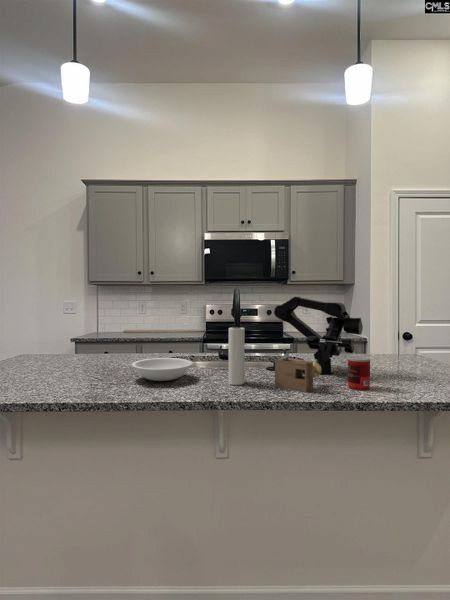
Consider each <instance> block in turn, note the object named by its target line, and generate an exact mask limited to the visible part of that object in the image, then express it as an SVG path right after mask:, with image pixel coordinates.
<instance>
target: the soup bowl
mask: <svg viewBox="0 0 450 600" xmlns="http://www.w3.org/2000/svg"><path fill="white" fill-rule="evenodd" d="M192 365H194V363H193V361H192V360H189V359H186V358H177V357H156V358H154V357H153V358H146V359H140V360H137V361H134V362H132V363H131V367H132V368H134V369H136V372H137V373H138V375H140V376H141V377H143V378H144V379H146V380H149V381H156V382H157V381H158V382H163V381H164V382H165V381H167V382H168V381H172V380H175V379H179V378H181V377H182V376H184V374H185V373H187V371H188V370H189V368H190V367H191V366H192Z"/></svg>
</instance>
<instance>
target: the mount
mask: <svg viewBox="0 0 450 600" xmlns="http://www.w3.org/2000/svg"><path fill="white" fill-rule="evenodd" d="M303 370H305V375H304V374H303ZM274 388H277V389H278V388H279V389H284V390H289V391H296V392H300V393H308V392H310V391H312V390H314V377H313V361H311V360H305V359H295V358H289V360H288V361H282V360H281V358H278V359H275V360H274Z"/></svg>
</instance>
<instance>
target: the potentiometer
mask: <svg viewBox="0 0 450 600" xmlns="http://www.w3.org/2000/svg"><path fill="white" fill-rule="evenodd" d="M289 356H290V355H289V353H288V352H287V348H283V352H281V355H280V357H281V360H282V361H288V360H289V359H290V357H289Z"/></svg>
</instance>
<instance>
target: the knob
mask: <svg viewBox="0 0 450 600" xmlns="http://www.w3.org/2000/svg"><path fill="white" fill-rule="evenodd" d="M321 370H322V369H321V366H320V364H319V363H318V362H317V361H316V360H315V361H313V378H314V377H318V376H319V375H321V374H320V373H321ZM303 376H305V370H303Z"/></svg>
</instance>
